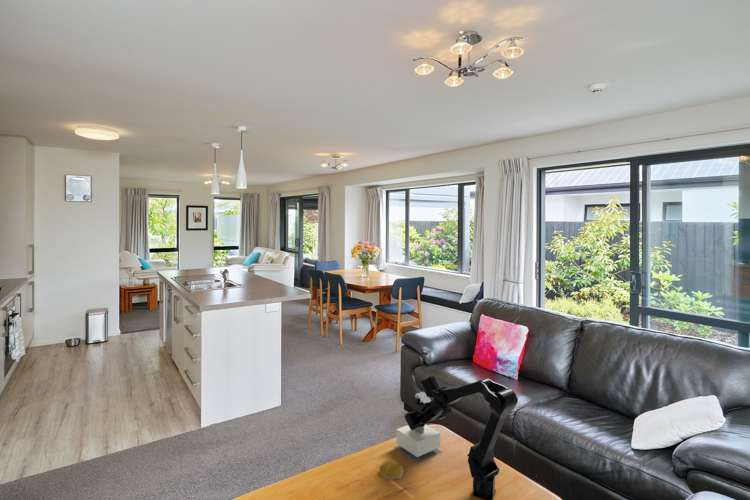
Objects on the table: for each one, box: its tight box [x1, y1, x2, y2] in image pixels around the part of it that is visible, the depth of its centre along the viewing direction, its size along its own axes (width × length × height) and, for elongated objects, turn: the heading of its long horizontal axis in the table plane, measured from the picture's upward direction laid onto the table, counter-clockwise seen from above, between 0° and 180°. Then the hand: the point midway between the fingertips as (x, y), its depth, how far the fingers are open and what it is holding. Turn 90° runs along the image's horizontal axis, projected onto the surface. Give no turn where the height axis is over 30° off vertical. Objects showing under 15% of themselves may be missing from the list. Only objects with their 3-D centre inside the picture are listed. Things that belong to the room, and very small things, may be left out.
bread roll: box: [379, 459, 405, 481], centre depth 150 cm, size 8×9×4 cm
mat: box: [394, 445, 443, 464], centre depth 165 cm, size 14×14×1 cm
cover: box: [395, 424, 441, 457], centre depth 165 cm, size 13×13×11 cm
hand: (415, 424), depth 166 cm, fingers closed on cover
